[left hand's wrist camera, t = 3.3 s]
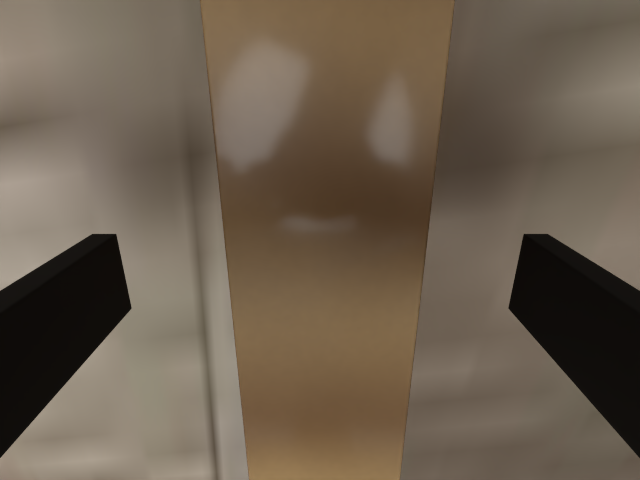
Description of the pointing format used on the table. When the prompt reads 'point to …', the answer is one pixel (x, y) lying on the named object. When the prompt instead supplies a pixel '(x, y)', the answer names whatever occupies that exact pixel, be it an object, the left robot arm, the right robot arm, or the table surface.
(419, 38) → the beam
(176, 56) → the table surface
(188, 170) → the table surface
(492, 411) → the table surface
